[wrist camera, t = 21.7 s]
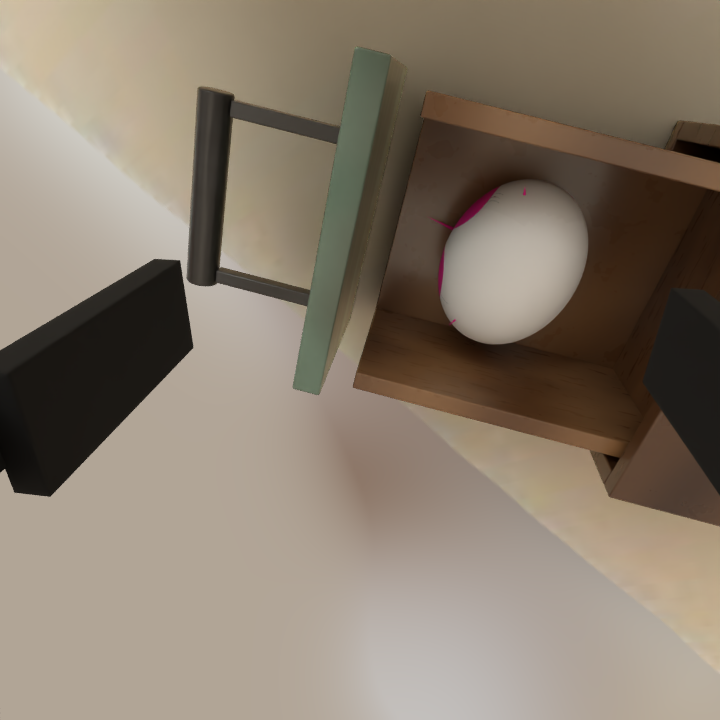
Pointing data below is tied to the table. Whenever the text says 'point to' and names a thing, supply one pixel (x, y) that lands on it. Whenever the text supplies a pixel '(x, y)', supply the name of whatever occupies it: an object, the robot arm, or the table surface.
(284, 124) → the drawer
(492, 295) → the stress ball
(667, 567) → the table surface
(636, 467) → the cabinet
